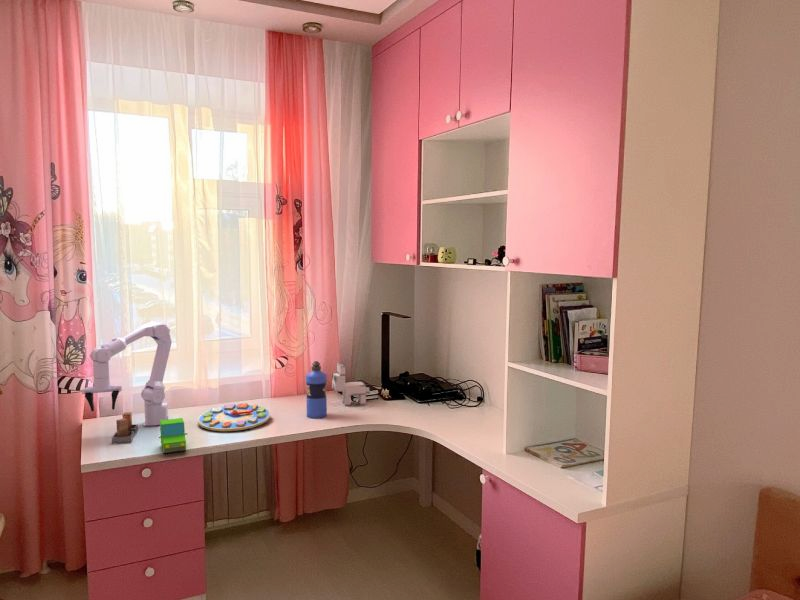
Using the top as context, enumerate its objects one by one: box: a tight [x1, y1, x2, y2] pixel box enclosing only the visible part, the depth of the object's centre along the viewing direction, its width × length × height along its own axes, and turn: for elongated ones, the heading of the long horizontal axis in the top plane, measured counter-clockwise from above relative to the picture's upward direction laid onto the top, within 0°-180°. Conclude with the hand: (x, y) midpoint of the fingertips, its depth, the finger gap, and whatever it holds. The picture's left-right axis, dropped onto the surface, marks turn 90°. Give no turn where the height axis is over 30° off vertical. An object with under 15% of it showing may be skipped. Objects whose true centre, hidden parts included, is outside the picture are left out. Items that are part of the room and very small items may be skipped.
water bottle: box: [305, 360, 328, 420], centre depth 275 cm, size 9×9×25 cm
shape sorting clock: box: [197, 402, 271, 432], centre depth 266 cm, size 31×30×6 cm
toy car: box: [158, 417, 188, 455], centre depth 230 cm, size 10×13×10 cm
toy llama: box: [331, 362, 371, 407], centre depth 296 cm, size 8×18×20 cm, turn 106°
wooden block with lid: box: [116, 417, 128, 437], centre depth 241 cm, size 3×3×7 cm
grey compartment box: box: [111, 411, 139, 445], centre depth 246 cm, size 7×17×8 cm, turn 14°
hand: (103, 409), depth 248 cm, fingers open, 7 cm apart
